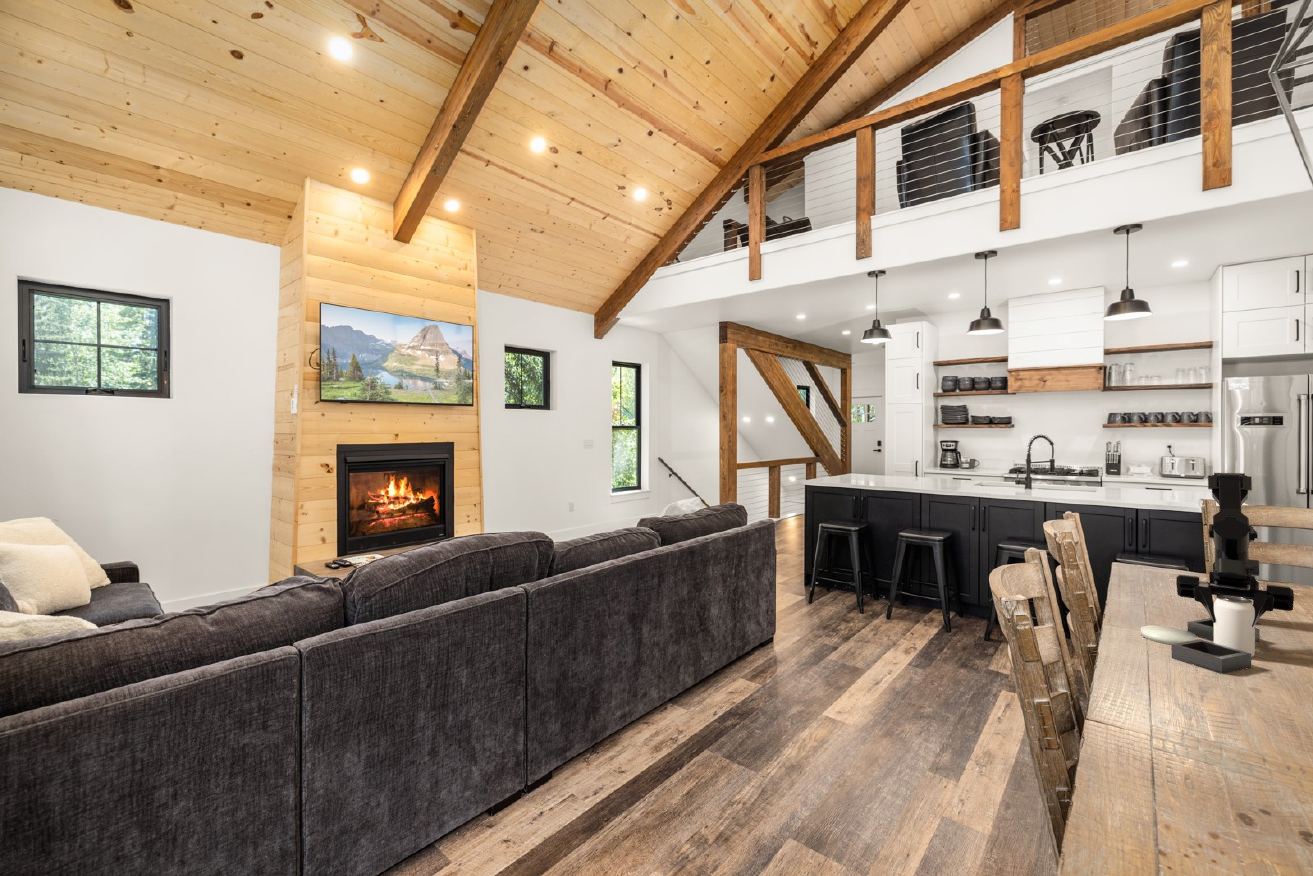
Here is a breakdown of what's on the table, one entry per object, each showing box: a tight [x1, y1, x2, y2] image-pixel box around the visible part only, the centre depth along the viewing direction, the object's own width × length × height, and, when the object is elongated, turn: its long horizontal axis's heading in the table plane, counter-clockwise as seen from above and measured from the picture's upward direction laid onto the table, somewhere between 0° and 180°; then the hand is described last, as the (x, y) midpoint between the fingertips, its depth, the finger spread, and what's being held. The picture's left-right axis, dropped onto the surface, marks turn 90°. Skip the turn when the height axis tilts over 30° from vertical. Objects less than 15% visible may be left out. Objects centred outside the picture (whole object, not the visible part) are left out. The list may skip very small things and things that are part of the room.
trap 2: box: [1186, 617, 1261, 643], centre depth 138 cm, size 9×9×3 cm
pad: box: [1140, 624, 1198, 646], centre depth 138 cm, size 10×10×2 cm
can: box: [1213, 595, 1256, 658], centre depth 129 cm, size 6×6×12 cm
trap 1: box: [1170, 638, 1252, 674], centre depth 124 cm, size 9×9×3 cm
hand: (1232, 624), depth 128 cm, fingers closed on can, 5 cm apart
